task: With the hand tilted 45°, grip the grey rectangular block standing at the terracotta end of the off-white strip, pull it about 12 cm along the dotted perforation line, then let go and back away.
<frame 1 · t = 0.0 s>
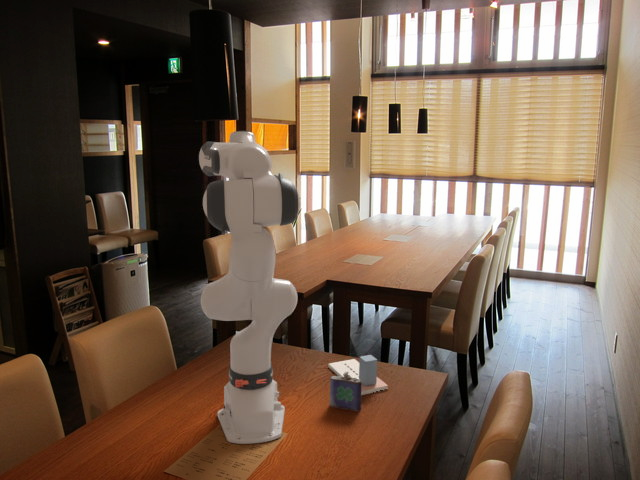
hand: (243, 227, 171), 48 cm above the table, tool pointing down, fingers open, 8 cm apart
flask: (345, 407, 155), on the table
grey rectangular block: (367, 370, 166), point 6 cm above the table, slide at 0.0 cm
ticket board: (356, 377, 173), on the table
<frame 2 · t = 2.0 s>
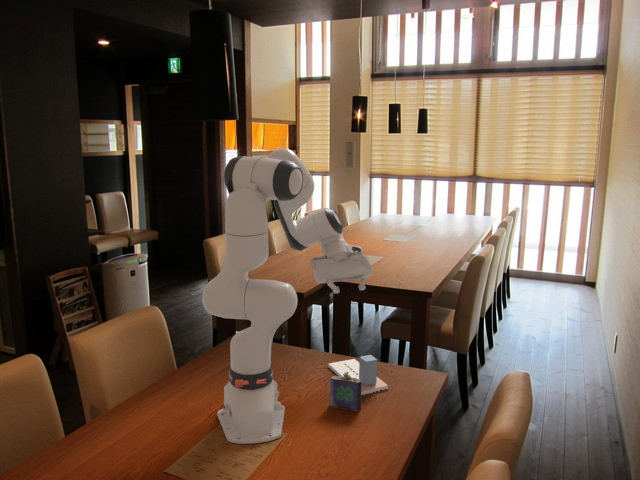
hand: (350, 291, 173), 28 cm above the table, tool tilted 45°, fingers open, 8 cm apart
nothing on the table moved.
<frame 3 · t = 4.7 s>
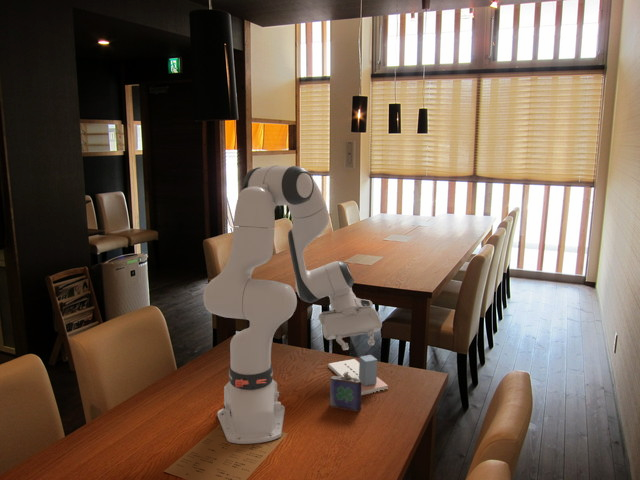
hand: (359, 347, 170), 11 cm above the table, tool tilted 45°, fingers open, 8 cm apart
nothing on the table moved.
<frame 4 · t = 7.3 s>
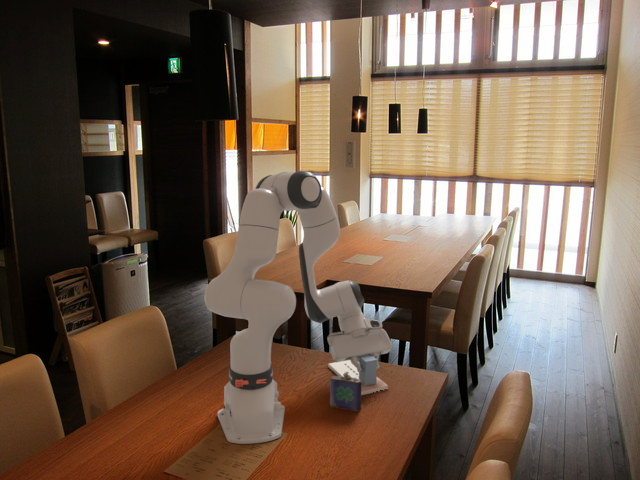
hand: (369, 369, 165), 6 cm above the table, tool tilted 45°, fingers closed on grey rectangular block, 4 cm apart
grey rectangular block: (367, 370, 166), point 6 cm above the table, slide at 0.0 cm, touching gripper
everything else where it was.
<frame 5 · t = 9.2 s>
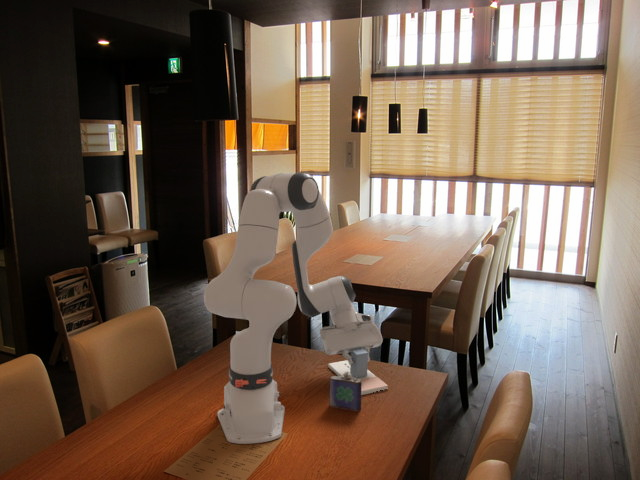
hand: (360, 362, 171), 6 cm above the table, tool tilted 45°, fingers closed on grey rectangular block, 4 cm apart
grey rectangular block: (359, 362, 171), point 6 cm above the table, slide at 5.8 cm, touching gripper
everything else where it was.
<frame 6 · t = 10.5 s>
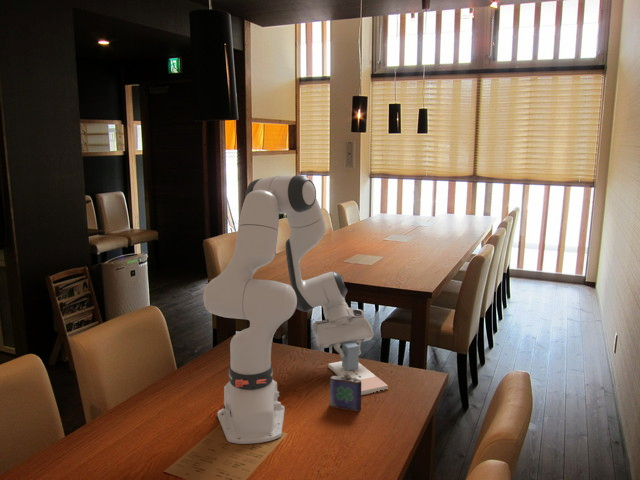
hand: (351, 355, 176), 6 cm above the table, tool tilted 45°, fingers closed on grey rectangular block, 4 cm apart
grey rectangular block: (350, 356, 177), point 6 cm above the table, slide at 11.7 cm, touching gripper
everything else where it was.
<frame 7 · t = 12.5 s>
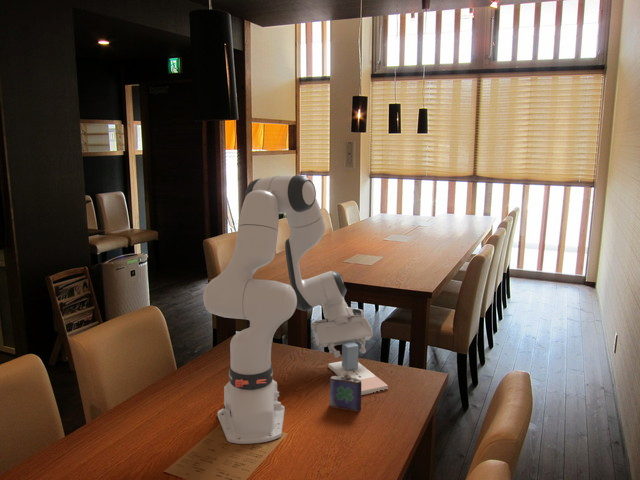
hand: (350, 354, 176), 6 cm above the table, tool tilted 45°, fingers open, 8 cm apart
grey rectangular block: (350, 355, 177), point 6 cm above the table, slide at 11.9 cm
everything else where it was.
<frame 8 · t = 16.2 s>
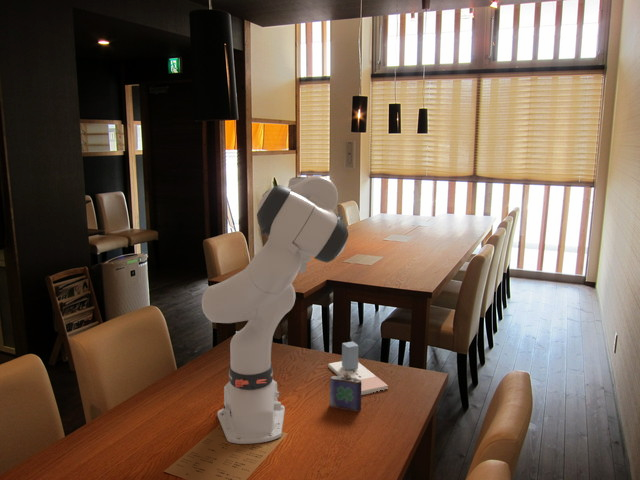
hand: (300, 269, 174), 34 cm above the table, tool pointing down, fingers open, 8 cm apart
nothing on the table moved.
at the end: grey rectangular block slide at 11.9 cm; the gripper is holding nothing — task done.
